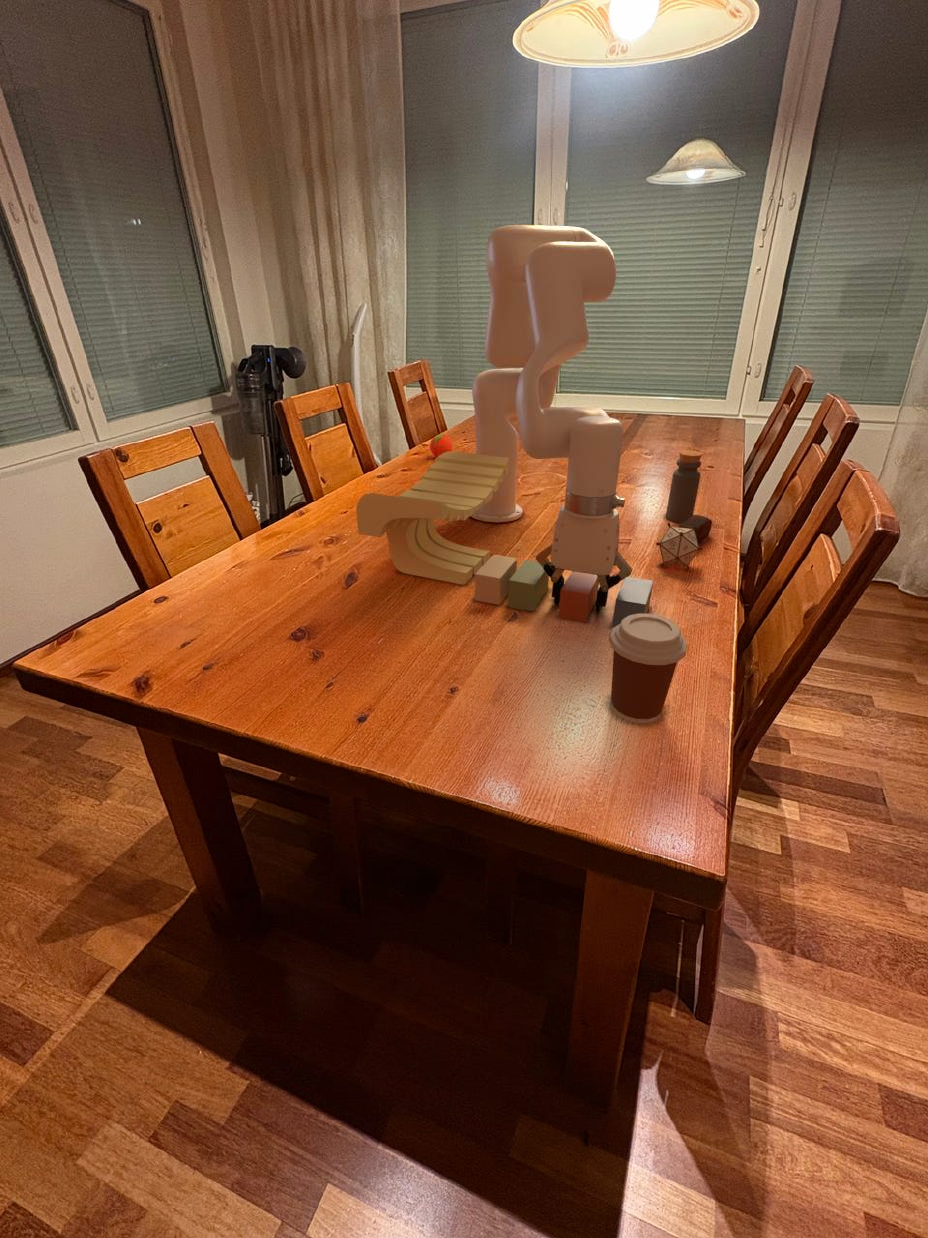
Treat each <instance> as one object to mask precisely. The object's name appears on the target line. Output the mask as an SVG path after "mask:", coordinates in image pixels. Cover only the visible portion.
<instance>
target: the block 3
mask: <svg viewBox="0 0 928 1238" xmlns="http://www.w3.org/2000/svg"><path fill="white" fill-rule="evenodd" d="M653 587H654V580H649V579H646V578H645V579H644V578H640V577H632V576H628V577H626V578H625V579H623V582H622V584H621V586H620V589H619V591H618V593H617V595H616V598H615V603H614V608H613V609H614V610H613V617H612V623H611V627H612V628H614V627H616V626H617V625H619V624H620V623H621V621H622V619H624V618H626V617H627V616H629V615H633V614H638V613H643V614H648V612H649V609H650V605H651V597H652V593H653Z"/></svg>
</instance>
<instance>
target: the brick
mask: <svg viewBox="0 0 928 1238" xmlns="http://www.w3.org/2000/svg"><path fill="white" fill-rule="evenodd" d="M712 525H713V520H712V519H711V518H709V517H707V516H704V515H700V514H693V516H692V517H690V518H689V519H687V520H686V521H684V522H680V523H679V524H678V525H677V527H681V528H690V529H694V527H695V526H697V528H696V529H695V533H696V537H697V541H698V545H699V544H701V543H702V542H704V541H705V540H706V539H707V538H708V537H709V536H710V533H711V530H712Z"/></svg>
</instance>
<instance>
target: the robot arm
mask: <svg viewBox="0 0 928 1238" xmlns="http://www.w3.org/2000/svg"><path fill="white" fill-rule="evenodd" d="M485 264H486V265H485V266H486V272H487V277H488V281H489V289H490V291H489V294H490V295H489V304H488V313H487V322H486V330H485V338H484V339H485V340H484V355H485V358H486V361H487V362H488V363H489V365H491V366H493V367H495V368H494V369H488V370H483V371H482V372H480V373H478V374H477V375H476V376H475V377H474V379H473V382H472V386H471V387H472V389H471V395H472V402H473V403H472V404H473V409H474V418H475V419H474V420H475V454H480V455H489V456H498V457H507V458H509V472H508V473H507V474H504V481H502V482H501V483H498V490H497V491H495V492H493V498H492V499H491V500H490V501H489V502H487V503H486V504H483V506H482V507H481V508H480V509H478V510H477V511H476V512H473V514H472V515H471V516H470V518H472V519H474V520H477V521H481V522H485V523H508V522H513V521H515V520H518V519H520V518H521V517H522V516H523V511H524V510H523V507H521V506H520V505H518V504H517V496H518V495H517V492H518V472H519V453H520V451H519V450H520V449H519V448H520V444H521V447H522V448H523V451H524V452H525V453H526V455H527V456H529V457H530V458H531V459H535V460H552V459H566V458H567V459H568V460H567V471H566V481H565V482H566V483H565V495H564V503H563V504H562V505H560V509H559V511H558V515H557V518H556V522H555V527H554V532H553V537H552V543H550V544H549V545H547V546H546V547H545V548H543V549H542V550H540V551H539V552H538V553H537V554H536V556H535V561H536V562H538V563H539V564H540V565H541V566H542V567H543V569H544V571H545V572H546V573H547V574H548V576H549V579H550V582H551V583H552V587H551V588H552V589H551V598H554V599H553V604H554V605H555V606H559V604H560V593H561V589H562V587H563V585H564V584H565V577H564V576H563V573H564V571H570V572H572V571H575V572H581V573H587V574H593V575H597V578H598V581H599V587H598V592H597V599H596V602H595V606H594V607H595V608H594V612H595V613H597V614H600V612H601V610H602V608H605V607H607V603H608V596H609V591H610V589H612V588H613V587H615V586H617V585H618V584H619V583H620V582H621V581H624V579H625V578H626V577H630V576H631V575H632V573H633V568H632V567H631V565H630V564H629V563H628V562H627V560H626V559H625V558H624V557H623V556H622V555H621V553H620V552H619V547H620V546H619V545H620V527H621V526H620V525H621V524H620V512H619V510H618V509H616V508H624V507H625V503H626V498H623V497H620V496H619V495H618V491H617V489H618V480H619V472H620V466H621V465H620V464H621V457H622V447H623V441H624V433H625V432H624V431H625V429H624V426H623V423H622V422H621V421H620V420H618V419H617V418H614V417H610V416H609V414H608V413H607V412H606V411H605V410H603V409H602V408H600V407H597V406H574V407H573V406H572V407H570V406H567V407H551V406H552V404H553V401H554V397H555V393H556V389H557V385H558V379H559V375H560V370H561V366H562V364H563V363H565V362H567V361H569V360H571V359H572V358H574V357H576V356H577V355H579V354H580V353H582V351H584V349H586V347H587V345H588V344H589V340H590V331H589V326H588V318H587V313H586V306H585V303H601V302H604V301H606V300H607V299H608V298H609V297H610V296H611V295H612V293H613V291H614V289H615V284H616V280H617V264H616V260H615V255H614V253H613V251H612V249H611V247H610V246H609V245H608V244H607V243H606V242H605V241H604V240H602V239H601V238H599V237H598V236H596V235H595V234H594V233H592V232H590V231H589V230H588V229H586V228H583V227H579V226H570V225H569V226H568V225H563V226H562V225H541V224H540V225H539V224H509V225H503V226H499V227H497V228H495V229H493V230H492V232H491V233H490V235H489V237H488V239H487V242H486V248H485ZM511 417H516V421H517V427H518V428H517V429H518V432H517V430H516V428H515V427H514V425H512V423H511V422H510V419H509V418H511ZM549 556H550V558H548V557H549ZM615 566H616V567H617V568H618V570H619V571H617V572H616V573H613V575H611V574H612V572H613V569H614V567H615Z"/></svg>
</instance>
